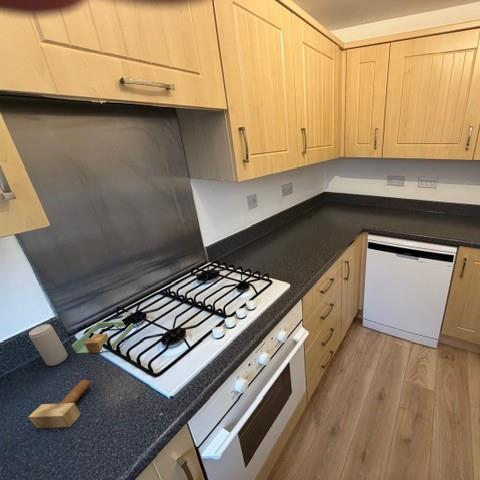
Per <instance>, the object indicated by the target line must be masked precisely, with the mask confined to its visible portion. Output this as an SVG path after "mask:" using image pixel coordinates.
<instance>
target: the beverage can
mask: <svg viewBox="0 0 480 480" xmlns="http://www.w3.org/2000/svg"><path fill="white" fill-rule="evenodd" d="M28 337H29V339H30V341H31V342H32V344H33V345H34V347H35V348H36V350H37V351H38V353H39V354H40V356H41V358H42V360H43V361H44V363H45V364H46V365H47V366H49V367H54V366H57V365H59V364H62V363H63V362H64V361H66V360H67V359H68V355H69V354H68V351H67V350H66V349H65V346H64V345H63V343H62V341H61V339H60V338H59V335H58V334H57V332H56V330H55V329H54V327H53V326H52V325H51V324H50V323H45V324H42V325H41V324H40V325H39V326H36V327H35V328H33V329H31V330H30V331H29V332H28Z"/></svg>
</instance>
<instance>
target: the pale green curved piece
mask: <svg viewBox="0 0 480 480" xmlns="http://www.w3.org/2000/svg"><path fill="white" fill-rule="evenodd" d="M131 313H133V314H134V311H133V310H129V311H127V312H126V313H125V314H124V315H123V316H122V317H120V319H118V321H100V322H97V323H95V324H94V325H93V326H92V327H91V328H90V329H89V330H87V332H85V333H84V334H83V335H82V336H80V338H78V339H77V340H75V342H74V343H72V344H71V347H72V349H73V351H74V353H75V354H90V353H89V352H88V350H87V348H86V346H85V344H84V343H85V342H86V341H87V340H88V338H89V336H90V334H91V333H93V332H95V331H97V330H98V329H100V328H105V327H109V326H112V325H114V326H115V327H116V328H118V327H121V326H124V322H123V321H122V320H123V319H125V318H126V317H127V316H129V315H130V314H131ZM133 325H134V324H133V323H131V324H130V325H129V326H128V327H127V328H126V329H125V331H124V332H123V333H122V334H121V335H120V336H119V337H118V338H117V339H116V340H115V341H114V342H113V343H112V346H113V348H115V346H116V344H117V343H118V342H120V341H121V340H122V339H123V338H124V337H125V336H126V335H127V334H128V333H129V332H130V331H131V330H132V329H133Z"/></svg>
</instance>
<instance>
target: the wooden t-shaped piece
mask: <svg viewBox="0 0 480 480" xmlns="http://www.w3.org/2000/svg"><path fill="white" fill-rule="evenodd" d="M91 385H92V383H91V381H90V380H88V379H81V380H80V381H79V382H78V383H77V384H76V385H75V386H74V387H73V388H72V389H71V390H70V391H69V393H67V394H66V396H65V397H64V398H63V399H62V400H61V401H60V402H59V403H41V404H40V405H39V406H38V407H37V408H36V409H35V410H34V411H33V412H32V413H31V414H30V415H29V416H28V419H29V420H30V421H31V423H32V424H33V425H34V427H35V428H36V429H53V428H54V429H55V428H56V429H57V428H71V427H72V426H73V425H74V423H75V422H76V421H77V420H78V419H79V417H80V416H81V415H82V413H81V411H80V409H78V407H77V405H76V403H77V402H78V400H79V399H80V398H81V397H82V396H83V395H84V394H85V393H86V391H87V390H89V388H90V387H91Z"/></svg>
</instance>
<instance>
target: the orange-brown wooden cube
mask: <svg viewBox="0 0 480 480" xmlns="http://www.w3.org/2000/svg"><path fill="white" fill-rule="evenodd" d="M108 338H109V337H108V335H107V333H106V334H94V335H93V336H92V337H91V338H90V339H88V340H87V341H86V342H85V343H84V344H85V346H86V348H87V350H88V352H89V353H88V354H97V353H99V352H100V351H101V350H102V346H103V344H104V343H106V342H107V339H108Z"/></svg>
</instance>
